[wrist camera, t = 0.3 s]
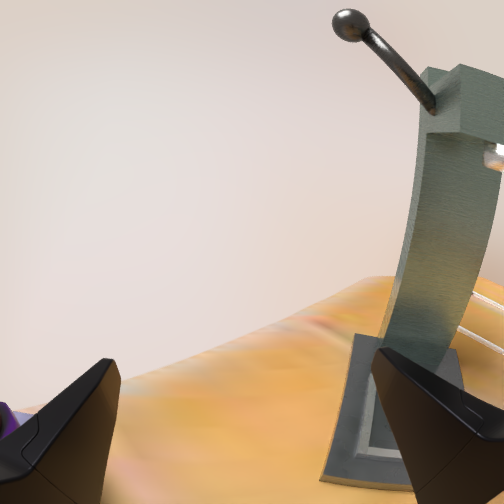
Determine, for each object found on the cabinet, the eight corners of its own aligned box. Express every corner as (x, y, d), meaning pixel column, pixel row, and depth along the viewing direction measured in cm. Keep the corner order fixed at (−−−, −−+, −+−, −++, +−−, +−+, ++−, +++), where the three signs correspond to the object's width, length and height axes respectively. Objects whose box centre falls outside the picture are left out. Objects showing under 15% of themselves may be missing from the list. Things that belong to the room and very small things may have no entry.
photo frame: (536, 368, 22) (446, 320, 35) (532, 374, 23) (444, 326, 36) (540, 324, 30) (468, 287, 43) (537, 329, 31) (466, 293, 44)
